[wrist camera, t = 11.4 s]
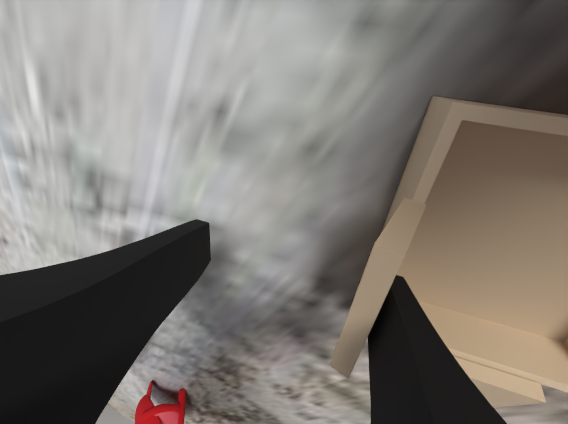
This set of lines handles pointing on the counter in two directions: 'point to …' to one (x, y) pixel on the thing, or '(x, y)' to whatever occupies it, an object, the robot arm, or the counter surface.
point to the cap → (160, 410)
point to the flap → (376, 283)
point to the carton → (492, 243)
